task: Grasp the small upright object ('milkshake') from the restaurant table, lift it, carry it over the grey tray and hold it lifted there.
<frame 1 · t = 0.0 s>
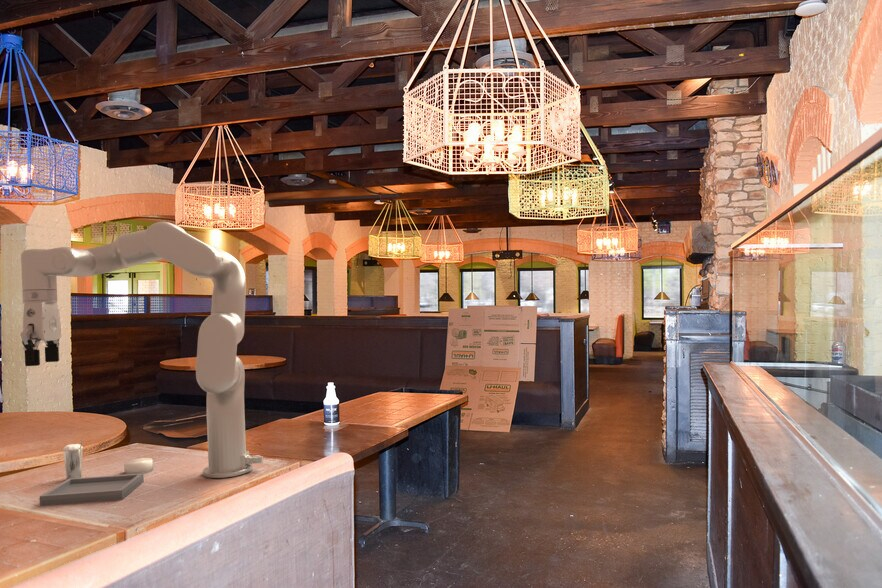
hand: (42, 363, 159), 31 cm above the table, fingers open, 9 cm apart
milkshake: (75, 479, 164), on the table
grey tray: (94, 493, 150), on the table
cream domed disc: (139, 472, 168), on the table
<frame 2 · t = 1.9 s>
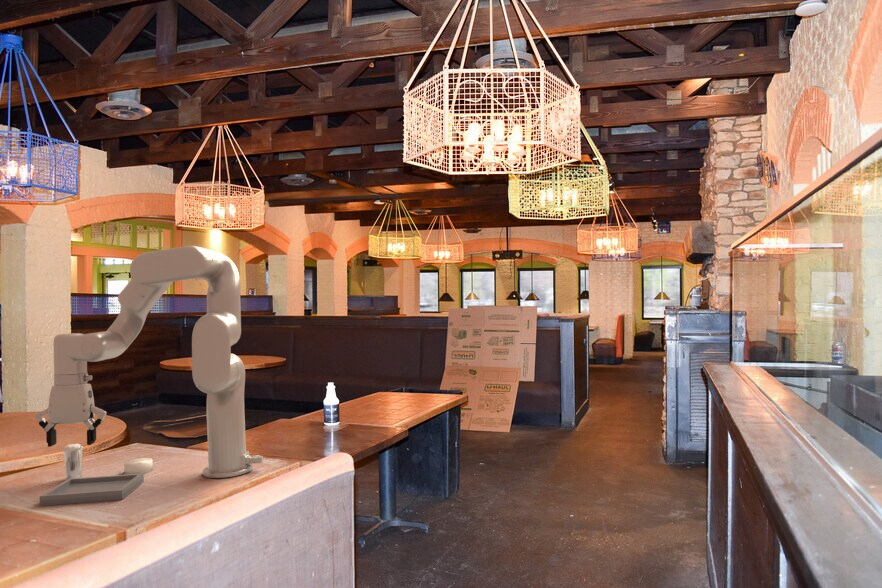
hand: (71, 444, 164), 9 cm above the table, fingers open, 9 cm apart
nothing on the table moved.
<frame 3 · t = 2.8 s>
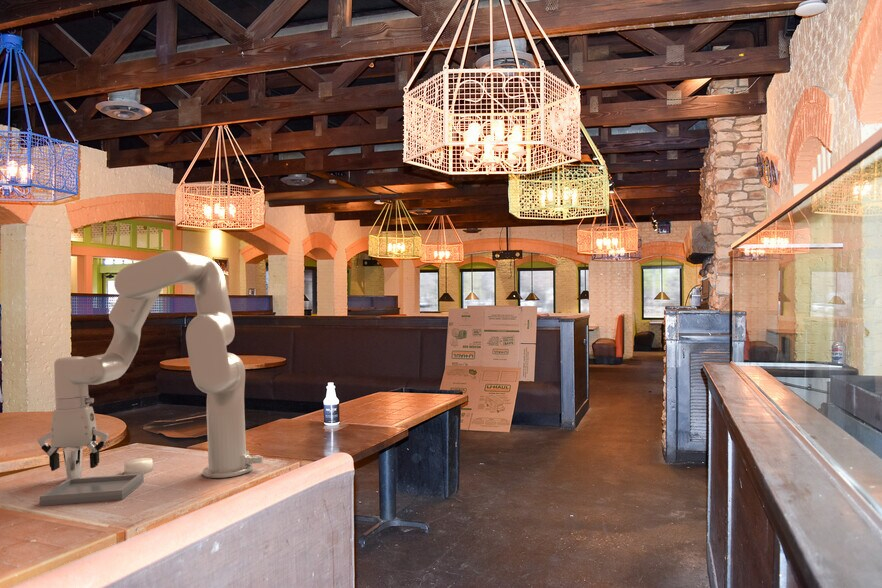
hand: (74, 468, 164), 3 cm above the table, fingers open, 9 cm apart
nothing on the table moved.
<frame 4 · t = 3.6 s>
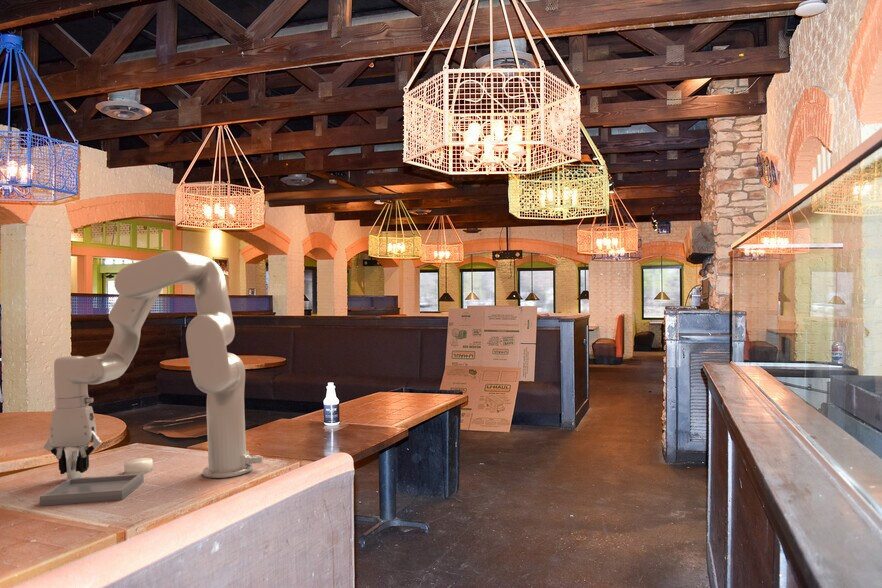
hand: (74, 471, 164), 2 cm above the table, fingers closed on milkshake, 4 cm apart
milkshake: (75, 479, 164), on the table, touching gripper
everything else where it was.
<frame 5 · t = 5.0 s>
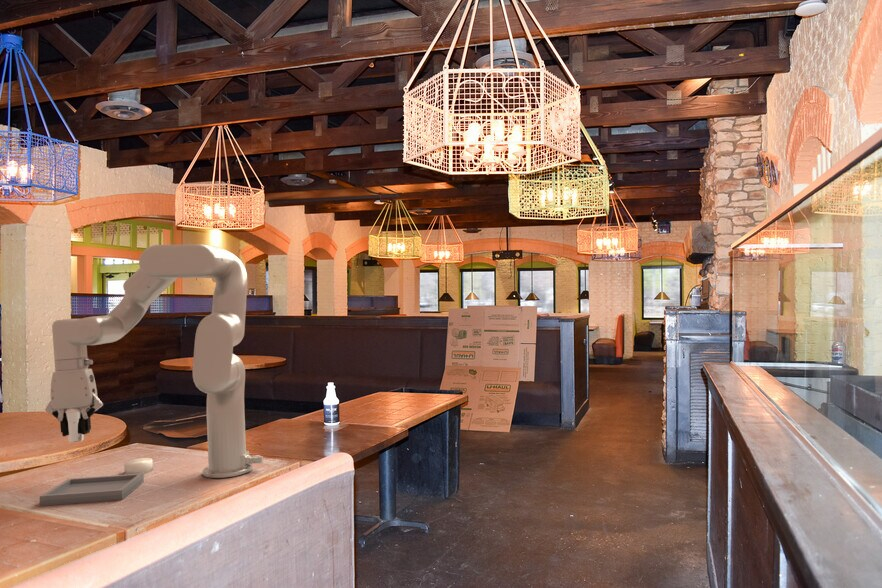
hand: (76, 433, 164), 12 cm above the table, fingers closed on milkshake, 4 cm apart
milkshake: (77, 441, 164), point 10 cm above the table, touching gripper
everything else where it was.
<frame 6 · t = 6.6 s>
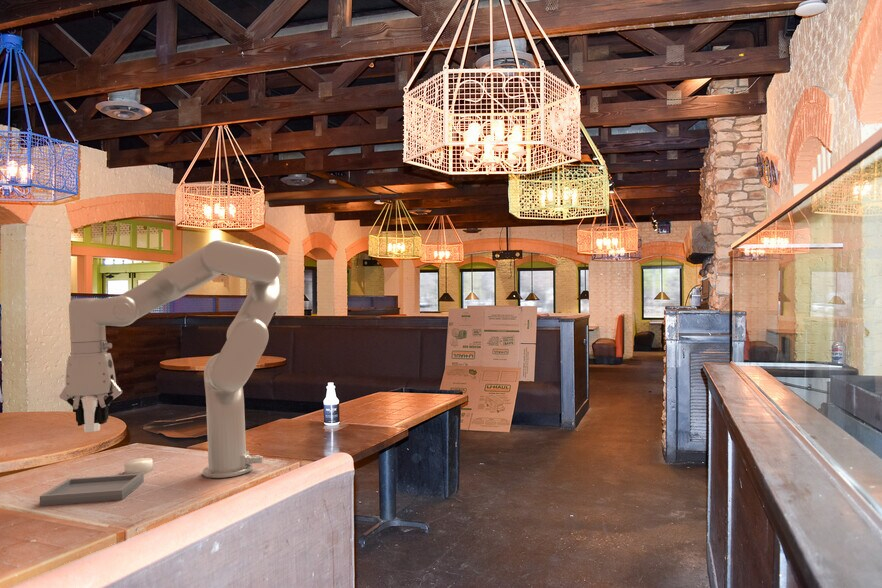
hand: (92, 423, 151), 17 cm above the table, fingers closed on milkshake, 4 cm apart
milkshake: (93, 431, 150), point 15 cm above the table, touching gripper
everything else where it was.
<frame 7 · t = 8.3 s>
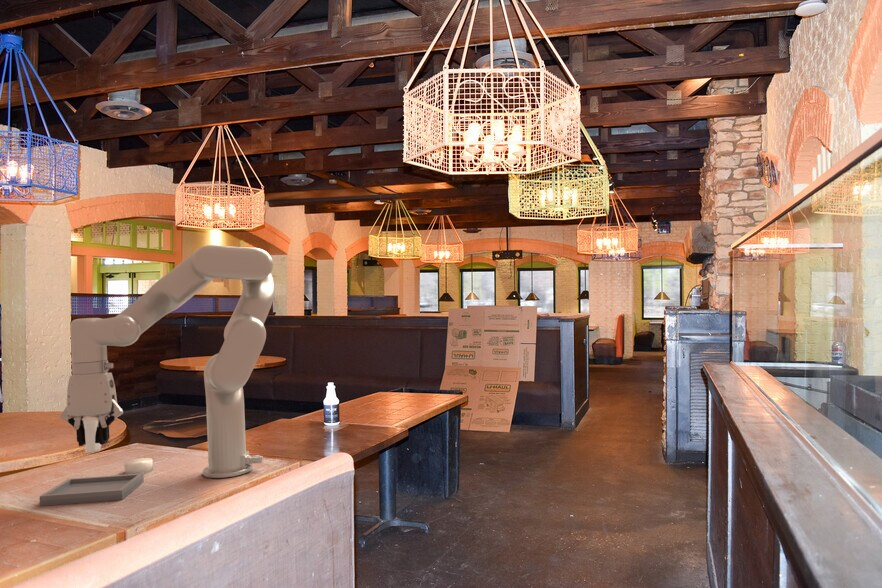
hand: (93, 443, 150), 12 cm above the table, fingers closed on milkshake, 4 cm apart
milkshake: (94, 452, 150), point 10 cm above the table, touching gripper
everything else where it was.
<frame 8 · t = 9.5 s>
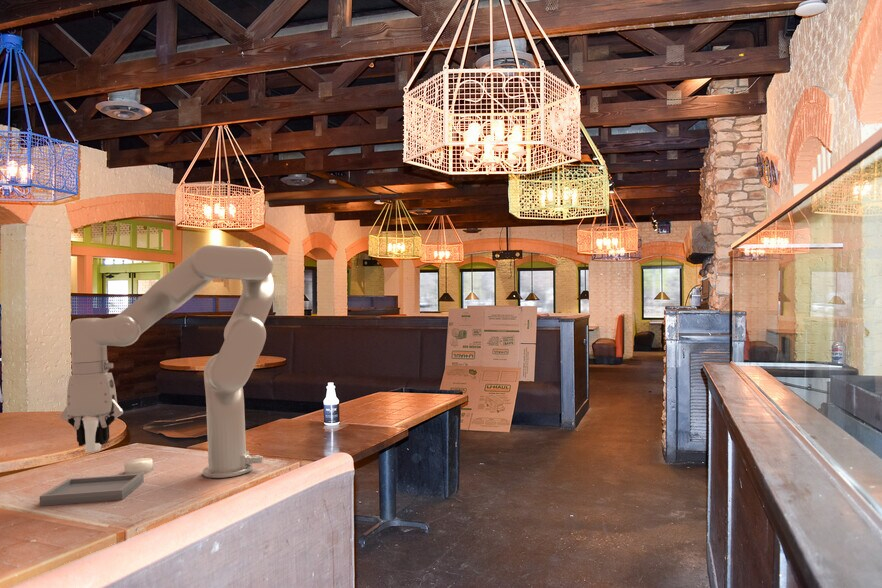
hand: (93, 443, 150), 12 cm above the table, fingers closed on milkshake, 4 cm apart
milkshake: (94, 452, 150), point 10 cm above the table, touching gripper
everything else where it was.
at the end: the gripper is holding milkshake; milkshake point 10.0 cm above the table; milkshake inside the target area on the grey tray (0.4 cm from its centre), point 10.0 cm above the grey tray's base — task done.
